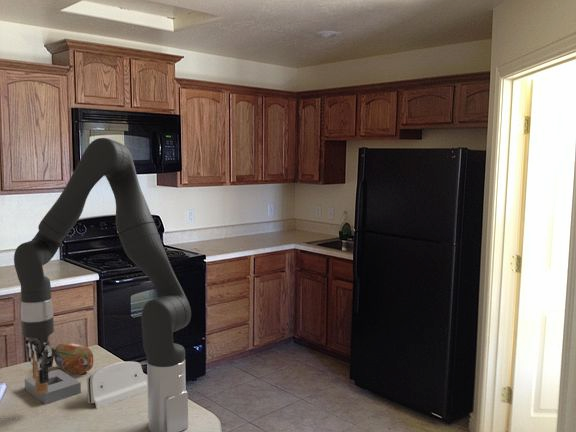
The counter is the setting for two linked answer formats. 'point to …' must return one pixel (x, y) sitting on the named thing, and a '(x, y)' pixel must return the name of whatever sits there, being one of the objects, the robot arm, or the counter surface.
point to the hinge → (116, 383)
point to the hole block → (55, 387)
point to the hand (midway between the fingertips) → (40, 380)
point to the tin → (73, 358)
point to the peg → (38, 386)
